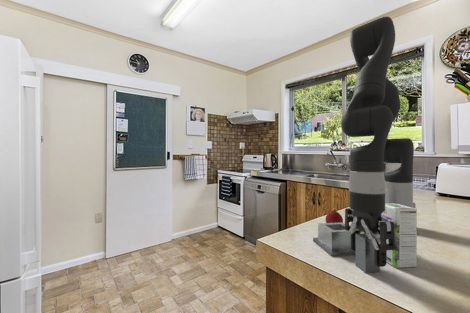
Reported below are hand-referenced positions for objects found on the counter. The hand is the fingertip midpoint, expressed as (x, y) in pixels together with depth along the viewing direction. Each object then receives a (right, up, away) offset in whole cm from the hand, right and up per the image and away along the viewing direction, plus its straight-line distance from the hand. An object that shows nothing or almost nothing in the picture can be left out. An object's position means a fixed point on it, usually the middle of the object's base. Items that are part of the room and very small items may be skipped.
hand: (366, 257), depth 54 cm
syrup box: (+10, -3, +3) cm, 11 cm away
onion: (+4, -3, +28) cm, 28 cm away
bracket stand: (+4, -3, +13) cm, 14 cm away
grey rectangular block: (0, -3, 0) cm, 3 cm away
